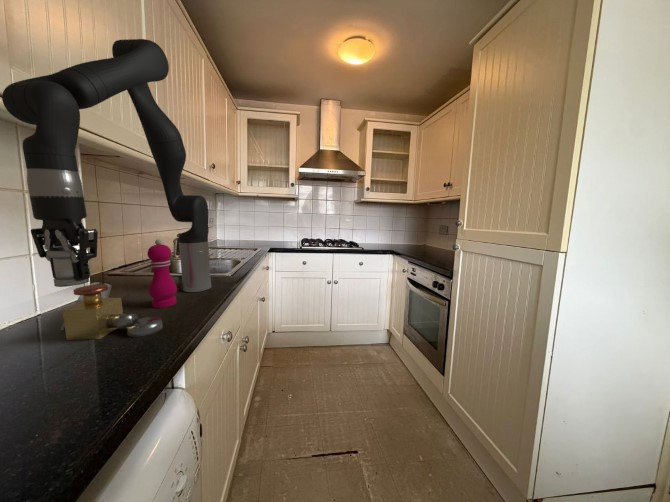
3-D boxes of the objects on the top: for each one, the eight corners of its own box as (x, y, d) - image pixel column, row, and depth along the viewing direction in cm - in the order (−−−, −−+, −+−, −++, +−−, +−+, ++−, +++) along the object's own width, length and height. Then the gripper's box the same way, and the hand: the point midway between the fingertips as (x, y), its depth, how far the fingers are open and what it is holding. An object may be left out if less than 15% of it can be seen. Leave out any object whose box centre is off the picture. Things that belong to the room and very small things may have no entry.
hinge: (84, 308, 80) (95, 275, 80) (104, 310, 83) (114, 279, 83) (59, 331, 66) (72, 291, 66) (84, 333, 68) (97, 295, 68)
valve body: (95, 324, 69) (89, 283, 67) (169, 322, 70) (165, 282, 69) (66, 339, 61) (59, 293, 60) (150, 337, 62) (145, 292, 61)
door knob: (76, 278, 60) (71, 247, 58) (95, 280, 59) (90, 248, 57) (47, 285, 55) (40, 251, 53) (68, 287, 54) (61, 252, 52)
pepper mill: (173, 298, 89) (167, 237, 85) (182, 304, 84) (176, 239, 81) (147, 304, 83) (140, 239, 80) (155, 310, 79) (147, 241, 75)
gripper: (107, 195, 56) (118, 276, 59) (52, 195, 59) (65, 272, 62) (64, 194, 49) (79, 286, 51) (4, 194, 51) (21, 281, 54)
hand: (71, 278), depth 57 cm, fingers closed on door knob, 5 cm apart
